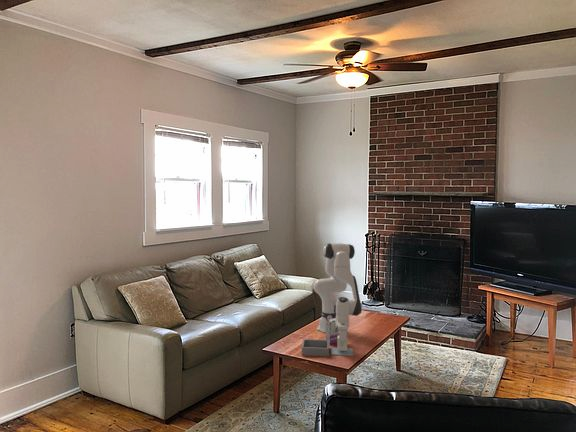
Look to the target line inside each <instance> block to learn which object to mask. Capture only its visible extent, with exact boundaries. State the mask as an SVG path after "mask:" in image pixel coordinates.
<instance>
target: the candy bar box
mask: <svg viewBox="0 0 576 432" xmlns="http://www.w3.org/2000/svg"><path fill="white" fill-rule="evenodd" d="M338 336H339V331H338V329H337V326H336V318H333V319H329V320H326V333H325V340H329V346H333V345H337V337H338Z"/></svg>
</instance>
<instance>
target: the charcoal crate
mask: <svg viewBox="0 0 576 432" xmlns="http://www.w3.org/2000/svg"><path fill="white" fill-rule="evenodd" d="M329 349H330V345H329V340H326V339H311V338H309V339H308V338H306V339H305V338H303V340H302V344H301V356H309V357H312V356H313V357H330V353H329V351H330V350H329Z"/></svg>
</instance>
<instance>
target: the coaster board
mask: <svg viewBox="0 0 576 432" xmlns="http://www.w3.org/2000/svg"><path fill="white" fill-rule="evenodd" d="M330 355H331V356H343V357H347V356H348V357H354V348H352V347H351V348H350V347H349V348H348V347H347V351H345V350H337V347H330Z"/></svg>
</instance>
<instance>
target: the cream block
mask: <svg viewBox="0 0 576 432" xmlns="http://www.w3.org/2000/svg"><path fill="white" fill-rule="evenodd" d="M336 346H337V347H336V348H337V350H345V351H347V348H348V335H346V342H344V346H341V342H340V340H339V336H338V337H337V344H336Z"/></svg>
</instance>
